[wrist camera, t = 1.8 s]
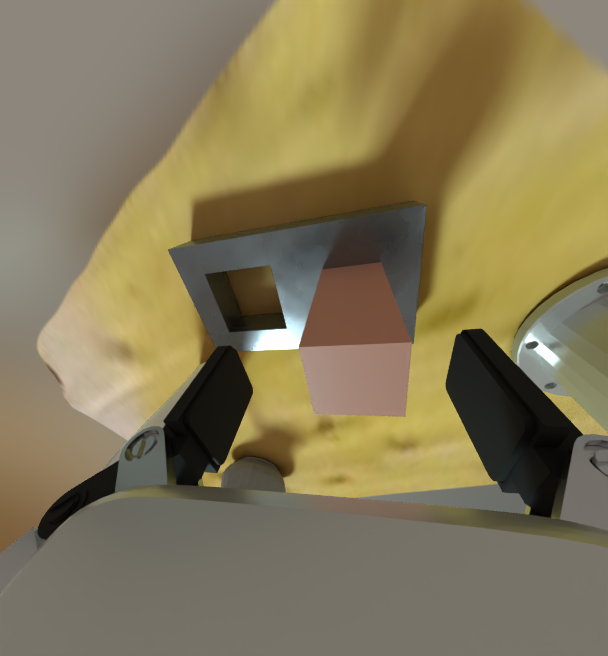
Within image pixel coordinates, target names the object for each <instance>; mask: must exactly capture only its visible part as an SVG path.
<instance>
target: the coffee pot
mask: <svg viewBox="0 0 608 656" xmlns="http://www.w3.org/2000/svg"><path fill="white" fill-rule="evenodd" d="M221 488H233V489H246V490H259V491H272V492H285V484H284V480H283V478H282V476H281V475H280V473H279V470H278V469H277V467H276V466H275V465H273V464H272V463H270V462H269V461H266V460H264V459H261V458H257V457H244V458H242V459H240V460H239V461H236V462H234V463H232V464H231V465H229V466H228V467H227V468H226V470H225V471H224V472H223V474H222V483H221Z"/></svg>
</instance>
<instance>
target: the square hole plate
mask: <svg viewBox="0 0 608 656" xmlns="http://www.w3.org/2000/svg"><path fill="white" fill-rule="evenodd" d="M426 206H427V205H425V204H422V203H419V202H416V201H411V202H405V203H399V204H394V205H388V206H383V207H377V208H372V209H366V210H360V211H355V212H349V213H344V214H338V215H332V216H327V217H321V218H316V219H310V220H305V221H299V222H293V223H288V224H282V225H277V226H271V227H265V228H260V229H254V230H249V231H243V232H238V233H232V234H226V235H221V236H215V237H210V238H204V239H199V240H193V241H189V242H187V243H184V244H181V245H179V246H176V247H174V248H171V249H168V251H169V253H170V255H171V257H172V259H173V262H174V264H175V266H176V268H177V270H178V272H179V274H180V276H181V278H182V280H183V282H184V284H185V286H186V288H187V290H188V292H189V294H190V297H191V299H192V301H193V303H194V305H195V307H196V309H197V311H198V313H199V315H200V317H201V319H202V321H203V323H204V325H205V327H206V329H207V332H208V334H209V336H210V338H211V340H212V342H213V344H214V346H215V348H217V347H218V346H228V345H230V346H232V347H233V348H235V349H236V351H252V350H276V349H299V344H300V340H301V337H302V334H303V330H304V327H305V324H306V321H307V317H308V314H309V311H310V307H311V304H312V301H313V297H314V294H315V291H316V287H317V284H318V281H319V277H320V274H321V271H322V269H330V268H338V267H346V266H354V265H362V264H370V263H378V262H381V264H382V266H383V269H384V272H385V274H386V277H387V279H388V282H389V284H390V287H391V290H392V292H393V295H394V297H395V300H396V303H397V305H398V308H399V310H400V313H401V316H402V318H403V321H404V323H405V326H406V329H407V331H408V334H409V336H410V339H411V341H412V344H413V343H414V333H415V322H416V312H417V301H418V291H419V280H420V269H421V259H422V248H423V238H424V227H425V216H426ZM267 265H271V269H272V273H273V276H274V280H275V284H276V288H277V292H278V296H279V299H280V303H281V307H282V311H283V313H274V314H262V315H250V316H242V315H241V312H240V309H239V306H238V304H237V301H236V298H235V296H234V293H233V290H232V288H231V285H230V282H229V280H228V277H227V274H226V272H225V271H230V270H238V269H245V268H253V267H260V266H267Z"/></svg>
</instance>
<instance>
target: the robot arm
mask: <svg viewBox="0 0 608 656" xmlns="http://www.w3.org/2000/svg"><path fill="white" fill-rule="evenodd" d="M511 355H512V360H511V359H510V358H509V357H508V356H507V355H506V354H505V352H504V351H503V350H502V349H501V348H500V347H499V346H498V345H497V344H496V343H495V342H494V341H493V340H492V339H491V338H490V336H489V335H488V334H487V333H486V332H485V331H484V330H482V329H469V330H462V332H461V334H457V335H456V338H455V343H454V347H453V352H452V356H451V361H450V365H449V370H448V374H447V379H446V390H447V393H448V395H449V397H450V399H451V401H452V403H453V405H454V407H455V409H456V411H457V413H458V415H459V417H460V419H461V421H462V423H463V425H464V427H465V429H466V431H467V433H468V435H469V437H470V439H471V441H472V443H473V445H474V447H475V449H476V451H477V453H478V455H479V457H480V459H481V461H482V463H483V465H484V467H485V469H486V471H487V473H488V475H489V476H490V478H491V479H492V480H493V481H497V482H498V484H499V486H500V488H501V490H502V492H506V493H519V494H520V496H521V497H522V499H523V501H524V503H525V504H527V507H526V511H525V514H518V513H509V512H498V511H489V510H480V509H469V508H461V507H449V506H438V505H426V504H415V503H403V502H392V501H381V500H370V499H358V498H346V497H334V496H321V495H309V494H297V493H285V492H272V491H259V490H246V489H233V488H221V487H207V486H203V481H202V476H203V474H204V471H205V472H210V473H218V470H219V468H220V465H222V464H223V463H224V462H225V460H226V458H227V455H228V453H229V451H230V448H231V446H232V443H233V441H234V438H235V436H236V433H237V431H238V428H239V426H240V424H241V421H242V419H243V416H244V414H245V411H246V409H247V406H248V404H249V402H250V399H251V397H252V394H253V387H252V385H251V383H250V380H249V378H248V376H247V373H246V371H245V369H244V367H243V364H242V362H241V360H240V357H239V355H238V353H237V351H236V349H235V348H233V347H232V346H230V345H228V346H218V347H217V348H216V349H215V351H214V352H213V353H212V355H211V356H210V358H209V359H208V360H207V362H206V363H205V364H204V366H203V367H202V368H201V370H200V371H199V373H198V374H197V375H196V377H195V378H194V379H193V381H192V382H191V383H190V385H189V386H188V388H187V389H186V390H185V392H184V393H183V394H182V396H181V397H180V399H179V400H178V401H177V403H176V404H175V405H174V407H173V408H172V409H171V411H170V412H169V414H168V415H167V416H166V418H165V419H164V420H163V422H164V423H165V426H164V427H163V428H161V427H160V426H152V427H148V428H146V429H144V430H142V431H140V432H139V433H137V434H136V435H135V436H133V437H132V438H131V439H130V440H129V441H128V442H127V444H126V445H125V446H124V448H123V449H122V451H121V454H120V457H119V460H118V461H117V462H115V463H113V464H112V465H110V466H109V467H107V468H105V469H104V470H102V471H101V472H99V473H97V474H95V475H94V476H92V477H91V478H89V479H87V480H86V481H84V482H82V483H81V484H79V485H78V486H76V487H74V488H73V489H71V490H70V491H68V492H67V493H65V494H64V495H63V496H61V497H60V498H59V499H58V500H57V501H56V502H55V503H54V504H53V505H52V506H51V507H50V508H49V509H48V511H47V512H46V513H45V515H44V517H43V518H42V519H41V522H40V524H39V526H38V529H37V528H35V527H33V528H32V529H30V530H29V531H28V532H27V533H25V534H24V535H23V536H22V537H20V538H19V539H18V540H17V541H16V542H14V543H13V544H12V545H11V546H9V547H8V548H7V549H6V550H4V551H3V552H2V553H1V554H0V656H608V436H602V435H596V434H590V435H583V434H582V433H581V432H580V431H579V430H578V429H577V428H576V427H575V425H574V424H573V423H572V422H571V421H570V420H569V419H568V418H567V417H566V416H565V415H564V414H563V413H562V412H561V411H560V410H559V409H558V407H557V406H556V405H555V404H554V403H553V402H552V401H551V400H550V399H549V398H548V397H547V396H546V395H545V394H544V393H543V392H542V391H545V392H548V393H552V394H556V395H563V396H571V397H572V398H573V399H574V400H575V401H576V402H577V403H578V404H579V405H580V406H581V407H582V408H583V409H584V410H585V411H586V412H587V413H588V414H589V415H590V416H591V417H592V418H593V419H594V420H595V421H596V422H597V423H598V424H599V425H601V426H602V427H603V428H604V429H605V430H606V431H607V432H608V268H606V269H603V270H600V271H597V272H595V273H593V274H591V275H589V276H586V277H584V278H582V279H580V280H578V281H576V282H574V283H572V284H570V285H569V286H567V287H565V288H564V289H562V290H560V291H559V292H557V293H555V294H554V295H553V296H552V297H550V298H549V299H548V300H546V301H545V302H544V303H542V304H541V305H540V306H539V307H538V308H537V309H536V310H535V311H534V312H533V313H532V314H531V315H530V316H529V317H528V318H527V319H526V320H525V322H524V323H523V324H522V326H521V327H520V329H519V330H518V332H517V334H516V336H515V339H514V341H513V345H512V351H511ZM541 390H542V391H541Z"/></svg>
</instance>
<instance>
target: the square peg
mask: <svg viewBox="0 0 608 656" xmlns="http://www.w3.org/2000/svg"><path fill="white" fill-rule="evenodd" d="M411 347H412V341H411V339H410V336H409V334H408V331H407V329H406V326H405V323H404V321H403V318H402V316H401V313H400V310H399V308H398V305H397V303H396V300H395V297H394V295H393V292H392V290H391V287H390V284H389V282H388V279H387V277H386V274H385V272H384V269H383V266H382V264H381V262H378V263H370V264H362V265H354V266H346V267H338V268H330V269H322V271H321V274H320V277H319V281H318V284H317V287H316V291H315V294H314V297H313V301H312V304H311V307H310V311H309V314H308V317H307V321H306V324H305V327H304V330H303V334H302V337H301V340H300V344H299V352H300V356H301V360H302V364H303V368H304V372H305V376H306V381H307V385H308V389H309V393H310V397H311V401H312V405H313V410H314V414H334V415H367V416H400V417H405V414H406V403H407V391H408V380H409V369H410V358H411Z"/></svg>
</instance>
